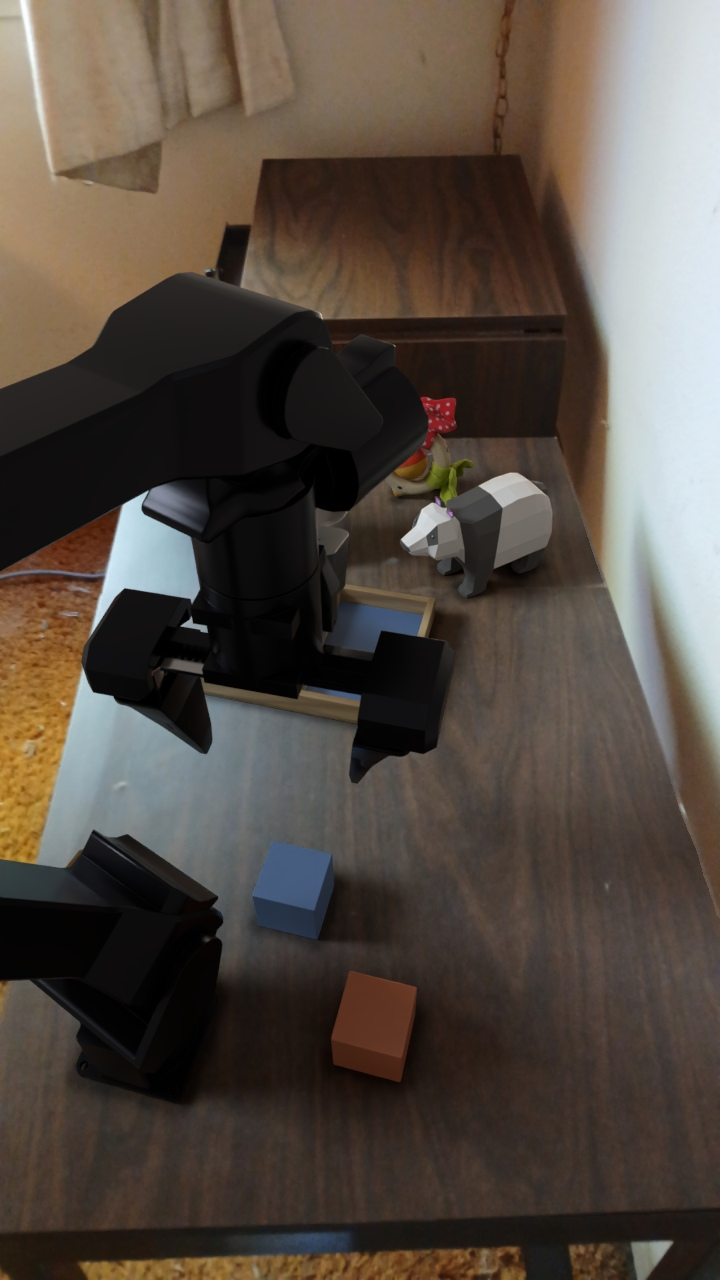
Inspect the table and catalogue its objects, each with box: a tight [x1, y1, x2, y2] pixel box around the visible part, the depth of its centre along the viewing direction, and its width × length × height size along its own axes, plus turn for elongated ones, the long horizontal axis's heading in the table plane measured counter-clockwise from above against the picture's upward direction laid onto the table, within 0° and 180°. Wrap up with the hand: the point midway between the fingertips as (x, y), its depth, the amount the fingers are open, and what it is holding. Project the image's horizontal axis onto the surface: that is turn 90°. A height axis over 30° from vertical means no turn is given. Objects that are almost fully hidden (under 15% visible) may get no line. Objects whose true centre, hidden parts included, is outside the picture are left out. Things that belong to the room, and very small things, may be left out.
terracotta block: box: [330, 970, 418, 1083], centre depth 51 cm, size 4×4×4 cm
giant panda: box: [399, 472, 553, 598], centre depth 77 cm, size 15×6×10 cm, turn 120°
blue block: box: [251, 840, 335, 941], centre depth 57 cm, size 4×4×4 cm
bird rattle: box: [384, 396, 474, 506], centre depth 85 cm, size 6×11×9 cm
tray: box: [201, 583, 437, 725], centre depth 73 cm, size 13×17×2 cm
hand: (280, 762), depth 52 cm, fingers open, 9 cm apart
